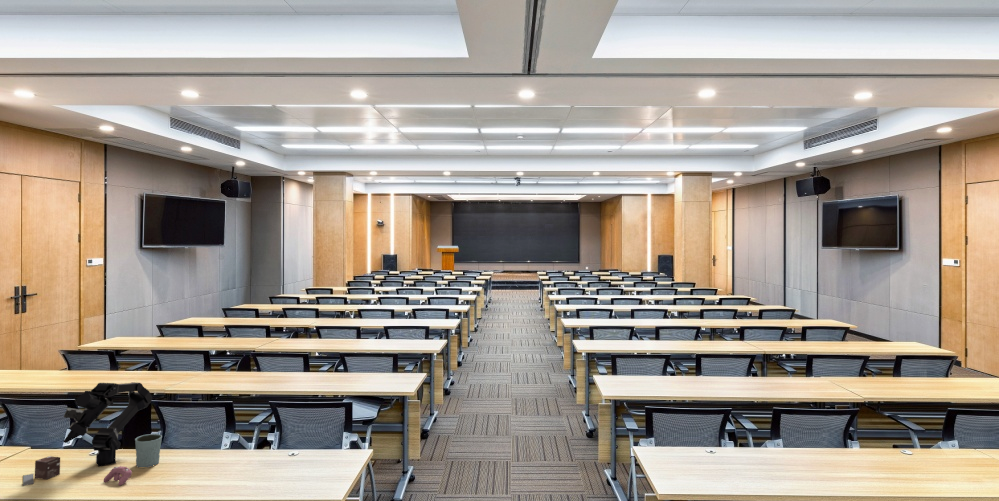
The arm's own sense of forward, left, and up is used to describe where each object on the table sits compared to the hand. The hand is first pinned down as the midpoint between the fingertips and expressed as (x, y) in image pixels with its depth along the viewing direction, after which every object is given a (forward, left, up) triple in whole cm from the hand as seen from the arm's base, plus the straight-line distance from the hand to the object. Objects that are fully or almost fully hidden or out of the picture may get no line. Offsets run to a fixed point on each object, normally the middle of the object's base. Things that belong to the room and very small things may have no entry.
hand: (64, 442), depth 234 cm
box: (+5, +1, -13) cm, 14 cm away
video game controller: (-17, +24, -13) cm, 32 cm away
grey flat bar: (+11, +1, -13) cm, 17 cm away
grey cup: (-29, +10, -13) cm, 33 cm away
